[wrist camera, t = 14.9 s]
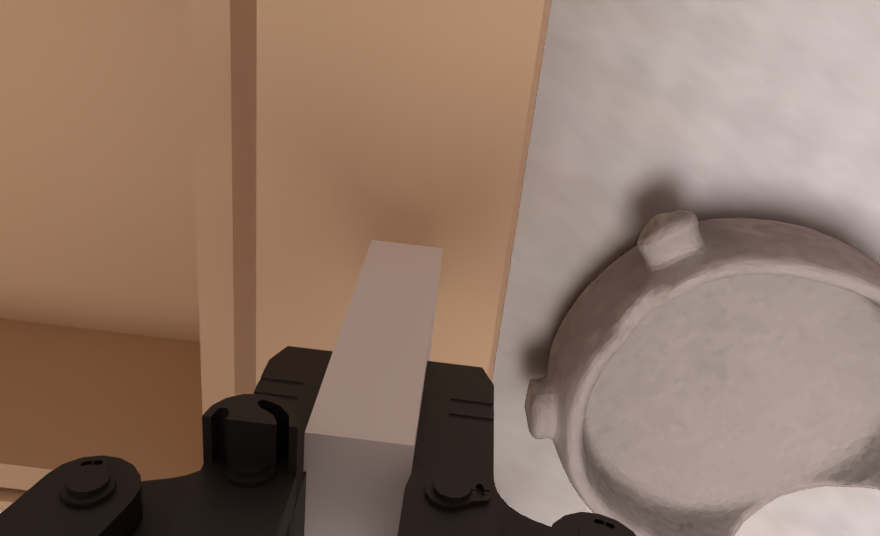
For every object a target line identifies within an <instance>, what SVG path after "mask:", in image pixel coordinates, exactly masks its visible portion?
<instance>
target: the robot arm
mask: <svg viewBox="0 0 880 536" xmlns="http://www.w3.org/2000/svg"><path fill="white" fill-rule="evenodd" d="M442 249H443V248H436V247H428V246H420V245H411V244H403V243H394V242H386V241H378V240H372V241H371V244H370V246H369V249H368V252H367V255H366V258H365V261H364V264H363V267H362V269H361V272H360V275H359V278H358V281H357V284H356V287H355V290H354V292H353V295H352V298H351V301H350V304H349V307H348V310H347V312H346V315H345V318H344V321H343V324H342V327H341V330H340V333H339V335H338V338H337V341H336V344H335V347H334V350H333V351H326V350H318V349H309V348H301V347H293V346H287V347H286V348H284V349H283V350H281V351H280V352H279V353H277V354H276V355H275V356H273V357H272V358H271V359H269V361H268V363H267V365H266V367H265V369H264V371H263V373H262V375H261V378H260V381H259V382H258V384H257V386H256V388H255V390H254V394H241V395H237V396H232V397H228V398H225V399H223V400H221V401H219V402H217V403H215V404H213V405H211V407H210V408H209V409H208V410H207V411H206V412H205V413H204V414H203V415H202V433H203V462H204V464H203V466H202V468H201V470H200V471H197V472H194V473H191V474H188V475H185V476H179V477H174V478H167V479H157V480H148V481H141V475H140V474H139V472H138V471H137V469H136V468H135V466H134V465H133V464H131V463H129V462H127V461H125V460H123V459H121V458H117V457H111V456H104V455H100V456H90V457H82V458H79V459H76V460H73V461H70V462H67V463H64V464H62V465H60V466H59V467H57V468H56V469H54V470H52V471H51V472H49V473H48V474H46V475H45V476H44V477H43V478H42V479H40V480H39V481H38V482H37V483H36V484H35V485H33V486H32V487H31V488H30V489H29V490H28V491H26V492H25V493H24V494H23V495H22V496H21V497H19V498H18V499H17V500H16V501H15V502H13V503H12V504H11V505H10V506H9V507H8V508H6V509H5V510H4V511H3V512H2V513H1V514H0V536H636V534H635V533H634V532H633V531H632V530H630V529H629V528H628V527H626V526H625V525H623V524H622V523H620V522H619V521H617V520H615V519H612V518H609V517H607V516H604V515H601V514H596V513H586V512H579V513H574V514H570V515H565V516H563V517H562V518H561V519H559V520H558V521H556V522H555V523H554V524H553V525H552V527H550V526H547V525H544V524H542V523H539V522H536V521H534V520H531V519H529V518H527V517H525V516H523V515H521V514H519V513H518V512H516V511H515V510H514V509H512V508H511V507H509V506H508V505H507V504H506V502H505V501H504V500H503V499H502V498H501V497H500V495H499V493H498V492H497V490H496V488H495V484H494V478H493V457H494V423H493V420H494V407H493V405H494V385H493V383H492V382H491V380H490V379H489V377H488V376H487V374H486V372H485V371H484V369H483V368H482V367H475V366H466V365H458V364H450V363H442V362H433V361H430V354H431V346H432V337H433V328H434V319H435V311H436V302H437V293H438V284H439V275H440V267H441V258H442Z"/></svg>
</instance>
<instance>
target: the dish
mask: <svg viewBox="0 0 880 536" xmlns="http://www.w3.org/2000/svg"><path fill="white" fill-rule="evenodd" d="M525 411H526V416H527V422H528V428H529V431H530V433H531V435H532V436H533V437H534V438H535V439H543V438H550V439H552V440H553V442H554V444H555V447H556V450H557V453H558V455H559V458H560V460H561V463H562V465H563V468H564V470H565V472H566V474H567V476H568V478H569V480H570V482H571V484H572V485H573V487H574V488H575V490H576V492H577V493H578V495H579V496H580V498H581V499H582V500H583V501H584V502H585V503H586V505H587V506H588V507H589V508H590V509H591V511H592V512H593V513H596V514H601V515H604V516H607V517H609V518H612V519H615V520H617V521H619V522H620V523H622V524H623V525H625V526H626V527H628V528H629V529H630V530H632V531H633V532H634V533H635V534H636V536H734V535H735V534H736V533H737V531H738V530H739V528H740V526H741V525H742V523H743V522H744V521H745V520H747V519H748V518H749V517H750V516H751V515H752V514H754V513H755V512H756V511H758V510H759V509H760V508H762V507H763V506H764V505H766V504H768V503H769V502H771V501H773V500H774V499H776V498H778V497H780V496H782V495H786V494H789V493H793V492H797V491H800V490H804V489H810V488H816V487H823V486H835V487H863V488H872V489H878V490H880V265H879V264H878V263H877V262H875V261H874V260H872V259H871V258H869V257H868V256H866V255H865V254H863V253H862V252H860V251H859V250H857V249H855V248H854V247H852V246H850V245H848V244H846V243H844V242H842V241H840V240H838V239H836V238H834V237H831V236H829V235H826V234H824V233H821V232H819V231H816V230H813V229H810V228H808V227H804V226H800V225H795V224H791V223H786V222H781V221H776V220H765V219H754V218H743V217H740V218H713V219H707V220H702V221H698V219H697V216H696V214H695V213H693V212H691V211H688V210H676V211H672V212H668V213H661V214H657V215H654V216H653V217H652V218H651V219H650V220H649V222H648V223H647V224H646V225H645V226H644V228H643V229H642V231H641V232H640V235H639V238H638V241H637V245H636V246H635V247H633V248H632V249H630V250H629V251H627V252H626V253H624V254H623V255H622V256H621V257H619V258H618V259H617V260H615V261H614V262H613V263H612V264H611V265H609V266H608V267H607V268H606V269H605V270H604V271H603V272H602V273H601V274H600V275H599V276H598V277H596V278H595V279H594V280H593V281H592V282H591V283H590V284H589V285H588V286H587V287H586V289H585V290H584V291H583V292H582V293H581V295H580V296H579V297H578V299H577V300H576V302H575V303H574V304H573V306H572V307H571V309H570V310H569V312H568V313H567V315H566V316H565V318H564V319H563V321H562V323H561V325H560V327H559V329H558V331H557V334H556V336H555V338H554V341H553V343H552V347H551V351H550V356H549V361H548V370H547V376H546V377H544V378H539V379H532V380H531V381H530V382H529V385H528V390H527V394H526V401H525Z"/></svg>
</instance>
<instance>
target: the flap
mask: <svg viewBox="0 0 880 536" xmlns="http://www.w3.org/2000/svg"><path fill="white" fill-rule="evenodd" d="M550 6H551V0H257V136H256V386H257V384H258V382H259V381H260V378H261V375H262V373H263V371H264V369H265V367H266V365H267V363H268V361H269V359H271V358H272V357H273V356H275V355H276V354H277V353H279V352H280V351H281V350H283V349H284V348H286V347H287V346H293V347H301V348H309V349H318V350H326V351H333V350H334V347H335V344H336V341H337V338H338V335H339V333H340V330H341V327H342V324H343V321H344V318H345V315H346V312H347V310H348V307H349V304H350V301H351V298H352V295H353V292H354V290H355V287H356V284H357V281H358V278H359V275H360V272H361V269H362V267H363V264H364V261H365V258H366V255H367V252H368V249H369V246H370V244H371V241H372V240H378V241H386V242H394V243H403V244H411V245H420V246H428V247H436V248H443V249H442V258H441V267H440V275H439V284H438V293H437V302H436V311H435V319H434V328H433V337H432V346H431V354H430V361H433V362H442V363H450V364H458V365H466V366H475V367H482V368H483V369H484V371H485V372H486V374H487V376H488V377H489V379H490V380H491V382H492V378H493V371H494V365H495V358H496V352H497V346H498V339H499V333H500V326H501V320H502V314H503V307H504V301H505V294H506V288H507V282H508V275H509V269H510V262H511V256H512V250H513V243H514V237H515V230H516V224H517V218H518V211H519V205H520V198H521V192H522V186H523V179H524V173H525V166H526V160H527V154H528V147H529V141H530V134H531V128H532V122H533V115H534V109H535V102H536V96H537V89H538V83H539V77H540V70H541V64H542V57H543V51H544V45H545V38H546V32H547V25H548V19H549V13H550Z"/></svg>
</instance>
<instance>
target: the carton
mask: <svg viewBox="0 0 880 536" xmlns="http://www.w3.org/2000/svg"><path fill="white" fill-rule="evenodd" d="M256 136H257V0H0V510H3V511H4V510H5V509H6V508H8V507H9V506H10V505H11V504H12V503H13V502H15V501H16V500H17V499H18V498H19V497H21V496H22V495H23V494H24V493H25V492H26V491H28V490H29V489H30V488H31V487H32V486H33V485H35V484H36V483H37V482H38V481H39V480H40V479H42V478H43V477H44V476H45V475H46V474H48V473H49V472H51V471H52V470H54V469H56V468H57V467H59V466H60V465H62V464H64V463H67V462H70V461H73V460H76V459H79V458H82V457H90V456H100V455H104V456H111V457H117V458H121V459H123V460H125V461H127V462H129V463H131V464H133V465H134V466H135V468H136V469H137V471H138V472H139V474H140V475H141V481H148V480H157V479H167V478H174V477H179V476H185V475H188V474H191V473H194V472H197V471H200V470H201V468H202V466H203V464H204V462H203V433H202V415H203V414H204V413H205V412H206V411H207V410H208V409H209V408H210V407H211V405H213V404H215V403H217V402H219V401H221V400H223V399H225V398H228V397H232V396H237V395H241V394H254V390H255V388H256Z"/></svg>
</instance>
